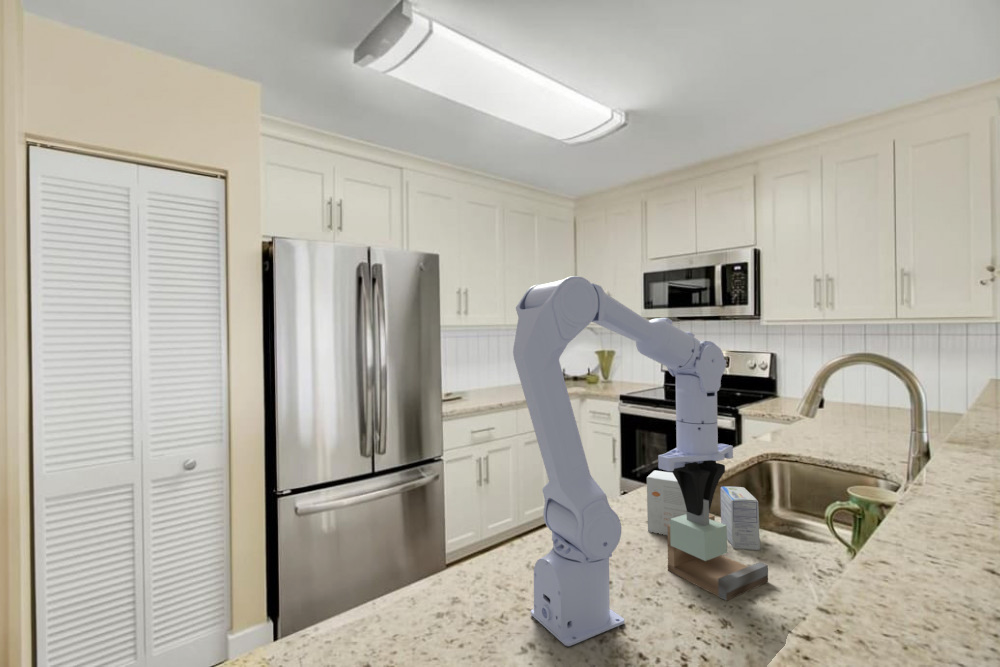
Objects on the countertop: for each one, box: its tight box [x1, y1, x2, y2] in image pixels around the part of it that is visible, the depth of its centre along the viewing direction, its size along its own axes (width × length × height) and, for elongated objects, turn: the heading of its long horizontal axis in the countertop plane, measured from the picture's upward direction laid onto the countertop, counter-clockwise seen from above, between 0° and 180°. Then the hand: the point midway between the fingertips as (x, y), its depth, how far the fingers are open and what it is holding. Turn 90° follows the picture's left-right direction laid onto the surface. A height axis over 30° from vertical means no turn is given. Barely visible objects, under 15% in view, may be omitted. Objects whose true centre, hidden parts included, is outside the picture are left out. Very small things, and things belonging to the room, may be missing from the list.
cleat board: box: [667, 513, 769, 601], centre depth 72 cm, size 10×10×7 cm
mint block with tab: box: [670, 499, 728, 561], centre depth 70 cm, size 5×6×8 cm
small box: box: [646, 470, 687, 537], centre depth 89 cm, size 8×6×10 cm
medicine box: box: [719, 486, 761, 551], centre depth 84 cm, size 8×4×9 cm, turn 168°
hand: (698, 512), depth 70 cm, fingers closed on mint block with tab
